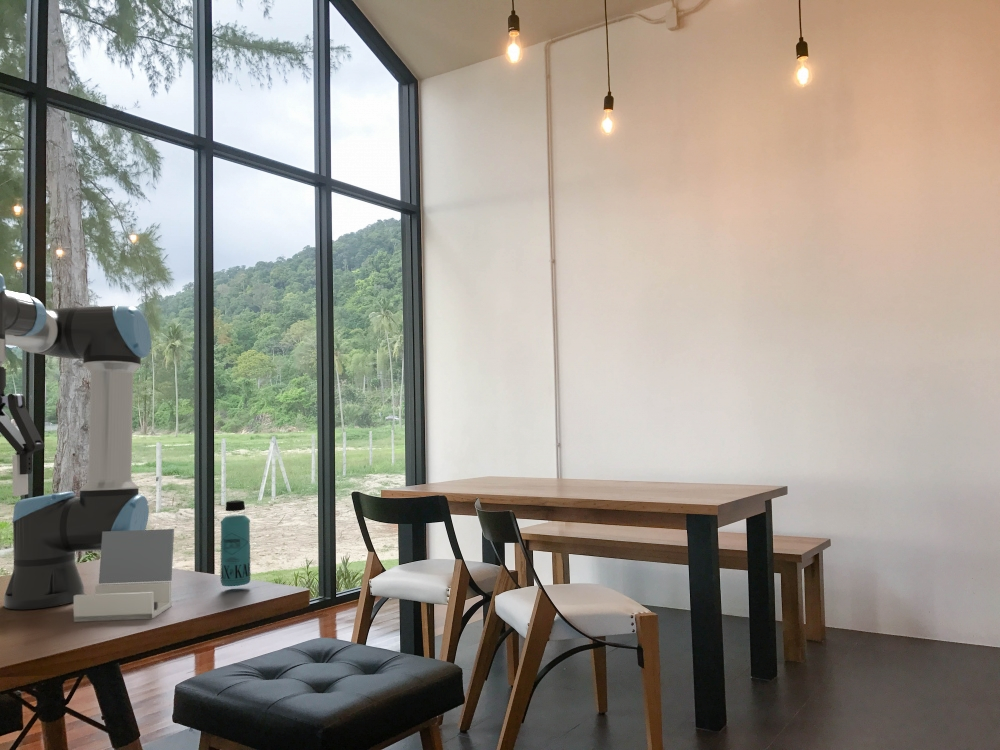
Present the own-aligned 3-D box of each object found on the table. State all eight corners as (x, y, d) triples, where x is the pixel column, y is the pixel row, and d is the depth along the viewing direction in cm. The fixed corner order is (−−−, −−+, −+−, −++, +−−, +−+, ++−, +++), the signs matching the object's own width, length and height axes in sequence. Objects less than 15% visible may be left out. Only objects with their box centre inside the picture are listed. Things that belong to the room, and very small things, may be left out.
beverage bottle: (220, 588, 180) (218, 500, 181) (250, 585, 182) (249, 498, 183) (221, 594, 174) (219, 503, 175) (252, 591, 176) (251, 500, 177)
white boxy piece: (98, 609, 164) (97, 584, 164) (171, 606, 165) (171, 581, 165) (73, 621, 154) (73, 596, 154) (152, 618, 155) (151, 592, 155)
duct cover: (98, 583, 164) (100, 583, 165) (170, 580, 165) (171, 580, 166) (102, 531, 167) (104, 531, 168) (172, 528, 167) (174, 529, 168)
